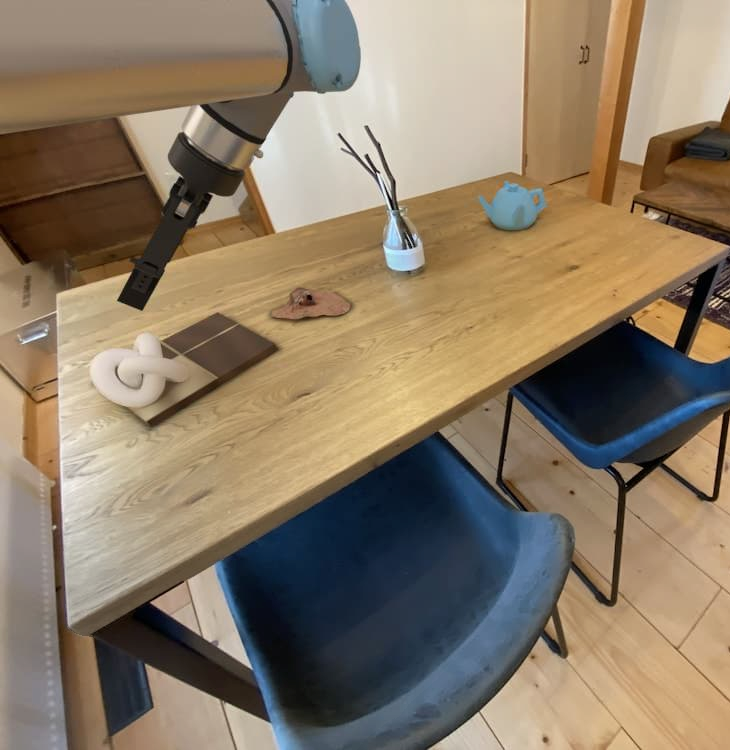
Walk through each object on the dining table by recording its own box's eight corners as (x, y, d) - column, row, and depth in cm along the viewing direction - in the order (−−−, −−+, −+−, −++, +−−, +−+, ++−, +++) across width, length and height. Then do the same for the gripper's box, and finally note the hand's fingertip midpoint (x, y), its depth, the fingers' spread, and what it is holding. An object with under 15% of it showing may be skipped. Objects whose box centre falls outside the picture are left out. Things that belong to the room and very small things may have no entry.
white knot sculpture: (211, 365, 80) (186, 325, 74) (174, 414, 71) (143, 373, 65) (150, 366, 80) (120, 326, 74) (106, 414, 71) (68, 374, 65)
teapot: (521, 238, 121) (521, 199, 113) (477, 226, 127) (475, 188, 119) (547, 219, 130) (550, 181, 122) (505, 208, 136) (505, 172, 129)
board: (151, 427, 71) (145, 420, 70) (96, 382, 79) (90, 375, 78) (278, 349, 86) (275, 342, 85) (220, 317, 94) (217, 311, 93)
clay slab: (360, 298, 99) (357, 286, 97) (324, 331, 90) (320, 319, 88) (307, 287, 103) (303, 275, 101) (267, 317, 94) (262, 305, 92)
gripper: (232, 207, 47) (152, 343, 54) (257, 146, 65) (195, 254, 72) (150, 159, 42) (74, 314, 49) (201, 107, 60) (140, 227, 67)
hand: (145, 279), depth 61 cm, fingers open, 13 cm apart
